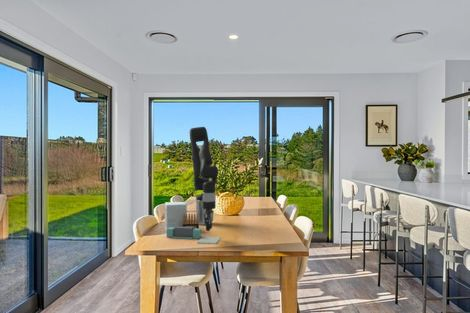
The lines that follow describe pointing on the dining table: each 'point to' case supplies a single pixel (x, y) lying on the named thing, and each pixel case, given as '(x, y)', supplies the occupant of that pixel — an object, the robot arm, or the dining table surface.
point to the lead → (183, 231)
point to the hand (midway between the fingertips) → (208, 229)
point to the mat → (208, 240)
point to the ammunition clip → (190, 221)
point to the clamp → (195, 236)
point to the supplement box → (174, 214)
